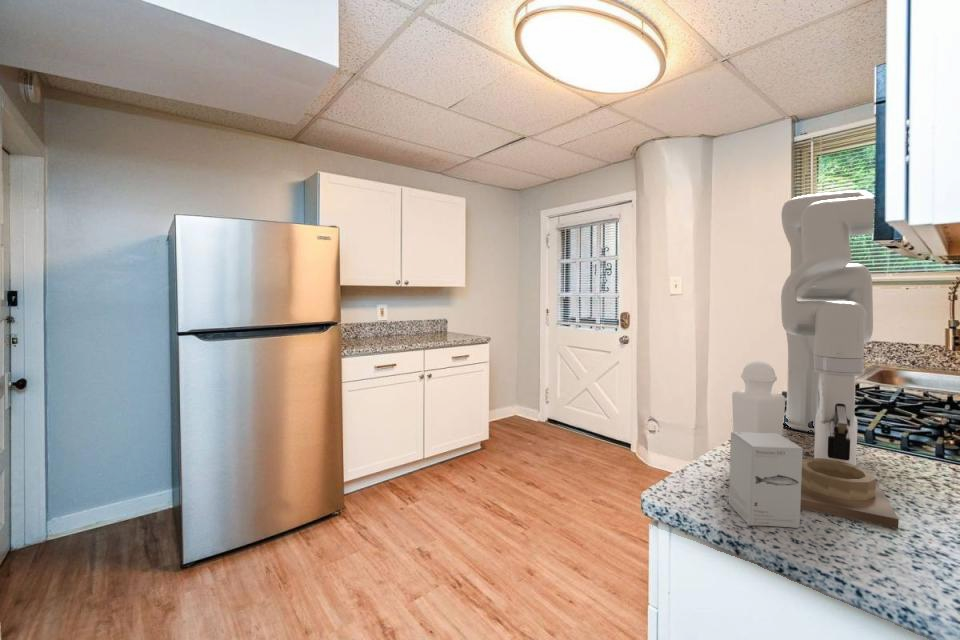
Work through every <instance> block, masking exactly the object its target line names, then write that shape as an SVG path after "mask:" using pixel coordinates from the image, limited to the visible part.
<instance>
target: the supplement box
mask: <svg viewBox="0 0 960 640" xmlns="http://www.w3.org/2000/svg"><path fill="white" fill-rule="evenodd" d="M803 449H804V447H801V445H799V444H797V443H795V442H793V441H791V440H790V439H788V438H786V437H784V436H783V435H782V436H781V435H779V434H777V433H749V432H733V431H731V432H730V449H729V450H730V452H729V454H730V457H729V458H730V460H729V486H728V487H729V490H728V491H729V492H728V494H729V495H728V503H729V505H730V506H731V507H732V509H733V510H734V511H735V512H736V513H737V515H739V516H740V517H741V518H742V520H744V522H745V523H747V525H749V527H751V526H761V527H762V526H764V527H765V526H766V527H783V528H793V529H799V528H800V526H801V525H800V524H801V508H800V504H801V479H802V460H803Z"/></svg>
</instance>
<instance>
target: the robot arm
mask: <svg viewBox="0 0 960 640" xmlns="http://www.w3.org/2000/svg"><path fill="white" fill-rule="evenodd" d="M874 196H875V195H874V194H872V193H871V192H869V191H867V190H864V189H858V190H857V189H855V190H846V191H837V192H836V191H835V192H823V193H815V194H807V195H801V196H800V195H799V196H797V197H792V198H791V199H789V200H787V201H786V202H784V204H783V206H782V208H781V223H782V224H781V225H782V229H783V232H784V235H785V237H786V240H787V242H788V244H789V247H790V250H791V273H790V274H789V275H788V277H787V278H786V280H785V281H784V284H783V286H782V289H781V295H780V302H781V303H780V305H781V306H780V307H781V313H780V314H781V323H782V327H783V329H784V330H785V333H786V341H787V342H786V343H787V377H786V378H787V381H786V382H787V384H786V386H787V387H786V418H787V419H788V422H785V423H786V424H787V425H788V426H789V427H788V428H790V427H791V428H790V429H794V430H797V431H798V430H799V431H802V432H808V431H809V433H815V418H816V414H817V412H819V420H820V422H822V423H823V424H825V422H829V425H830V437H829V436H828V457H829V458H834V459H841V460H849V459H850V439H849V438H850V437H849V427H850V426H852V425H853V421H854V415H855V413H854V412H855V405H856V377H857V376H863V375H864V361H865V360H864V359H865V358H864V357H865V343H867V342H868V341H870V340H871V338H872V336H873V331H874V306H873V305H874V304H873V303H874V302H873V279H872V274H871V271H870V270H869V268H868V267H867V266H865V265H863V264H860V263H851V262H852V251H851V250H852V249H851V242H850V236H861V235H873V234H874V233H873V219H874ZM835 408H836V412H835ZM833 420H837V422H835V421H833ZM848 420H850V422H848ZM811 421H813V426H814V428H809V427H808V423H809V422H811ZM834 427H835V428H834ZM810 430H812V431H813V432H812V431H810Z"/></svg>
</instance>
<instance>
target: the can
mask: <svg viewBox="0 0 960 640" xmlns="http://www.w3.org/2000/svg"><path fill="white" fill-rule="evenodd" d="M835 412H836V408H835ZM855 414H856V412H855V411H854V421H853V425H852V426H850V427H849V437H850V438H849V439H850V459H849V460H841V459H834V458H829V457H828V436H829V437H830V425H829V422H825V424H823V423H822V422H820V420H819V412H817V414H816V418H815V432H814V449H813V451H814V453H813V455H814V456H813V458H823V459H829V460H836V461H842V462H845V463H849V464H852V465H856V466H857V448H858V446H857V445H858V419H857V417H856V415H855ZM833 421H835V422H837V420H833ZM848 422H850V420H848ZM834 428H835V427H834Z"/></svg>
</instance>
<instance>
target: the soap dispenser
mask: <svg viewBox="0 0 960 640" xmlns="http://www.w3.org/2000/svg"><path fill="white" fill-rule="evenodd" d="M740 378H741V379H742V381H743V383H744V386H745V389H740V390H734V391H733V392H732V394H731V398H732V401H731V402H732V429H733V430H732V432H749V433H777V434H779V435H781V436H783V432H784V425H783V423H784V416H785V409H786V408H785V407H786V397H785V396H784V395H783V394H780V393H776V392H772V391H773V390H772V389H773V386H774V384H775V382H777V380H778V378H777V375H776V372H775V370H774V368H773V366H771V364H769V363H768V362H765V361H761V360H755V361H750V362H748V363H747V364H745V366H744V367H743V369H742V372H741V375H740Z"/></svg>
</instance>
